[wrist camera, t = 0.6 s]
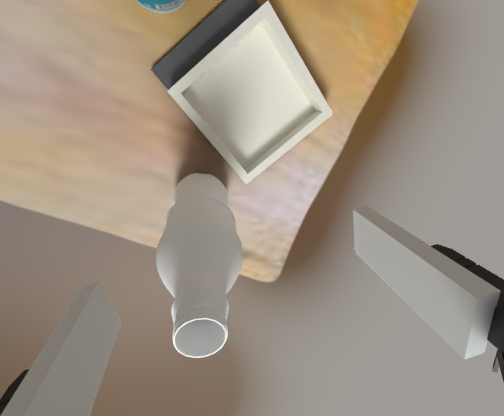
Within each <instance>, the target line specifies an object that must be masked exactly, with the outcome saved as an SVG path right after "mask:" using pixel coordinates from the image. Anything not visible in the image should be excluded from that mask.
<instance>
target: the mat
mask: <svg viewBox="0 0 504 416" xmlns="http://www.w3.org/2000/svg"><path fill="white" fill-rule="evenodd" d="M259 8H260V6H259V5H258V3H257V1H256V0H226V1H225V2H224V3H223V4H222V5H221V6H219V7H218V8H217V9H216V10H215V11H214V12H213V13H212V14H211V15H210V16H209V17H208V18H206V19H205V20H204V21H203V22H202V23H201V24H200V25H199V26H198V27H197V28H196V29H195V30H193V31H192V32H191V33H190V34H189V35H188V36H187V37H186V38H185V39H184V40H183V41H182V42H180V43H179V44H178V45H177V46H176V47H175V48H174V49H173V50H172V51H171V52H170V53H169V54H167V55H166V56H165V57H164V58H163V59H162V60H161V61H160V62H159V63H158V64H157V65H156V66H154V67H153V68H152V69H151V70H152V71H153V72H154V74H155V75H156V76H157V77H158V78H159V79H160V81H161V82H162V83H163V84H164V85H165V87H166V88H167V89H168V90H169V89H170V88H171V87H172V86H174V85H175V84H176V83H177V82H178V81H179V80H180V79H181V78H182V77H183V76H185V75H186V74H187V73H188V72H189V71H190V70H191V69H192V68H193V67H195V66H196V65H197V64H198V63H199V62H200V61H201V60H202V59H203V58H205V57H206V56H207V55H208V54H209V53H210V52H211V51H212V50H213V49H214V48H216V47H217V46H218V45H219V44H220V43H221V42H222V41H223V40H224V39H226V38H227V37H228V36H229V35H230V34H231V33H232V32H233V31H234V30H236V29H237V28H238V27H239V26H240V25H241V24H242V23H243V22H244V21H245V20H247V19H248V18H249V17H250V16H251V15H252V14H253V13H254V12H255V11H257V10H258V9H259Z"/></svg>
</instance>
